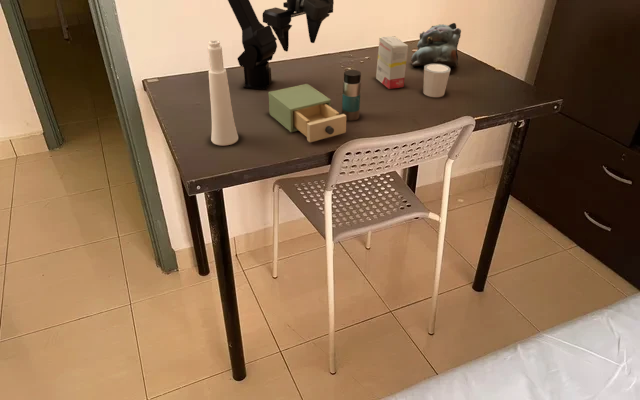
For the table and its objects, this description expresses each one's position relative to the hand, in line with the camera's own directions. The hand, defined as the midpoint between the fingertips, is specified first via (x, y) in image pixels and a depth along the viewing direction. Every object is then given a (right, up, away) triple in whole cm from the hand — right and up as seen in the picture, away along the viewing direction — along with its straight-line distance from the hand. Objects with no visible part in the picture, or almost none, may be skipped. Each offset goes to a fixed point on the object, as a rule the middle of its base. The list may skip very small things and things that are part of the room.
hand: (299, 46), depth 126 cm
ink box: (+25, -6, +15) cm, 30 cm away
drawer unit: (0, -18, -4) cm, 19 cm away
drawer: (+5, -22, -10) cm, 25 cm away
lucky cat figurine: (+39, +2, +27) cm, 48 cm away
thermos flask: (+13, -18, -3) cm, 22 cm away
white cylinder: (+36, -10, +10) cm, 38 cm away
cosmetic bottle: (-16, -25, -13) cm, 32 cm away
